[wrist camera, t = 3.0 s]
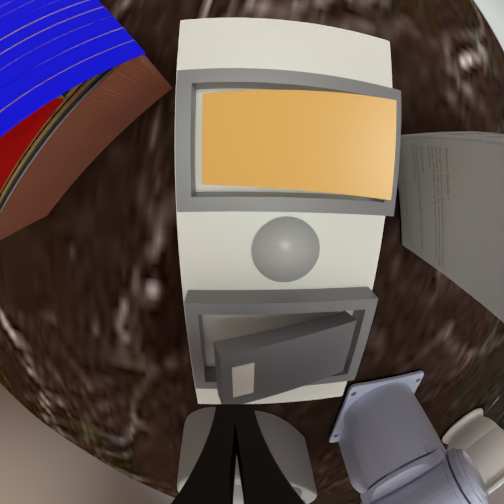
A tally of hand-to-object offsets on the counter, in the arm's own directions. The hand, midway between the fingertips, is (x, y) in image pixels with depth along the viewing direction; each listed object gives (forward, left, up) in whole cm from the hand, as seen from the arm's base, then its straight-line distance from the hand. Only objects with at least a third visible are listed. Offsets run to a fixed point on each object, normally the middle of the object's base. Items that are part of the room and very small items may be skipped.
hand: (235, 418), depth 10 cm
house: (+17, +14, -9) cm, 24 cm away
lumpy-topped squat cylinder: (-16, 0, -9) cm, 18 cm away
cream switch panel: (+5, -2, -9) cm, 10 cm away
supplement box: (+8, -13, -9) cm, 18 cm away
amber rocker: (+10, -2, -4) cm, 11 cm away
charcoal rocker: (0, -2, -4) cm, 5 cm away
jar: (-26, -35, -9) cm, 45 cm away
